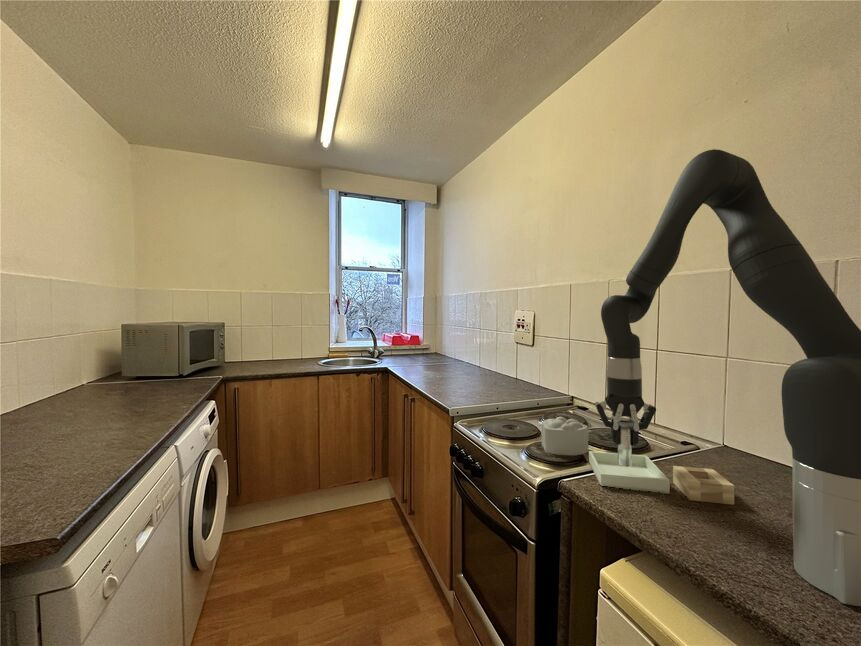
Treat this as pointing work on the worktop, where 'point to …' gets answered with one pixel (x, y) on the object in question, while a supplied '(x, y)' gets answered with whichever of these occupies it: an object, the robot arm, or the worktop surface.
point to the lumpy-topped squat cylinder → (564, 436)
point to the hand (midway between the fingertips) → (624, 443)
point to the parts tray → (628, 473)
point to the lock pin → (625, 442)
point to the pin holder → (703, 485)
